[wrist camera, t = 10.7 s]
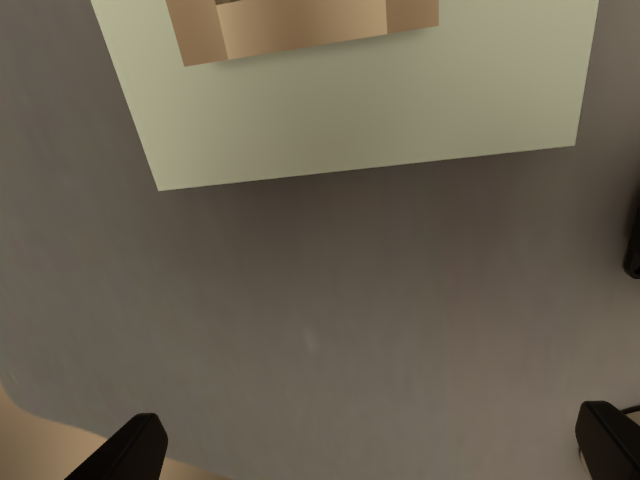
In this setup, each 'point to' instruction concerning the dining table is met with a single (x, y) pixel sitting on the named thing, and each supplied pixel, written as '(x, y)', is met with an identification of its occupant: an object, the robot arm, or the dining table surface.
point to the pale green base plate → (354, 92)
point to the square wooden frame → (286, 24)
